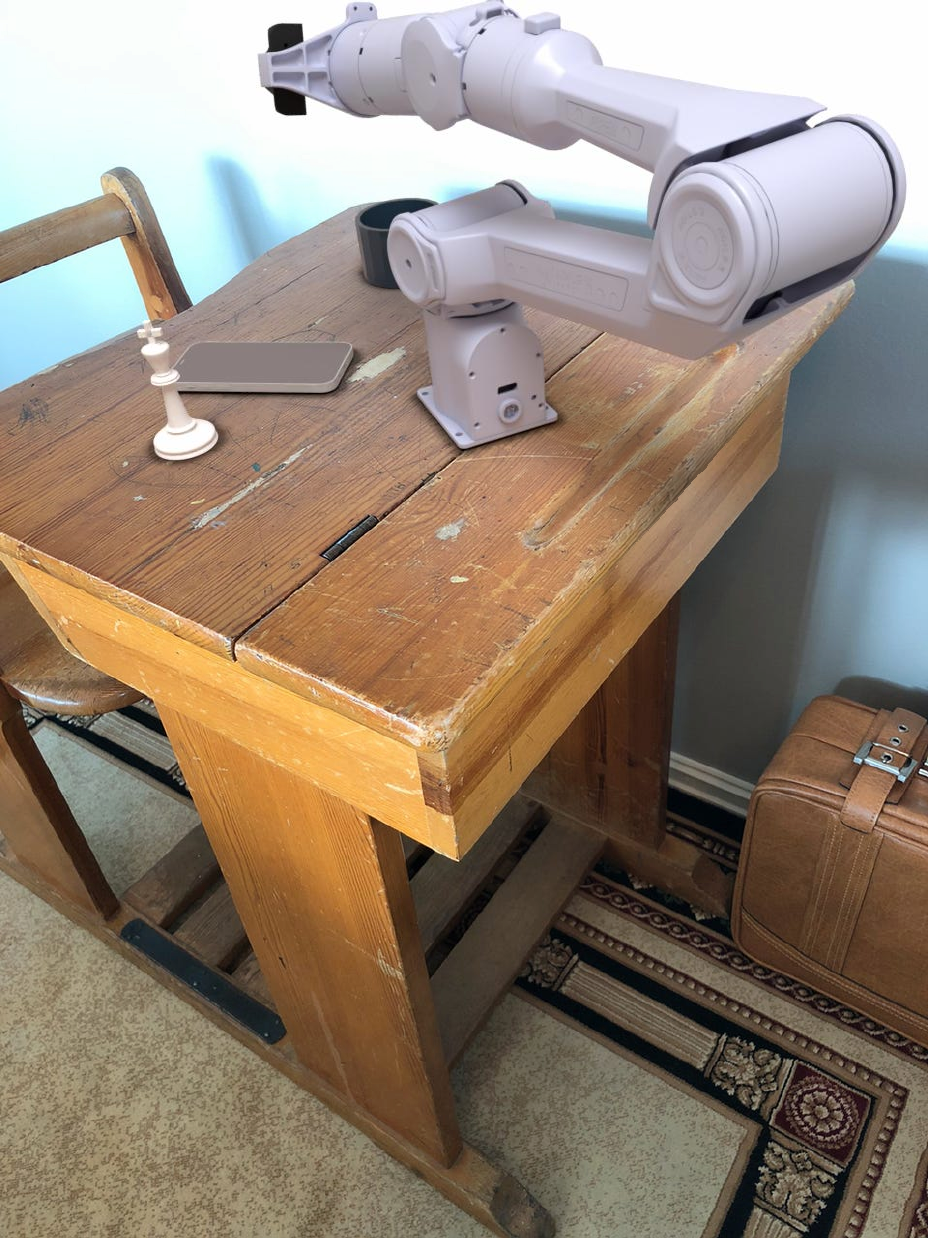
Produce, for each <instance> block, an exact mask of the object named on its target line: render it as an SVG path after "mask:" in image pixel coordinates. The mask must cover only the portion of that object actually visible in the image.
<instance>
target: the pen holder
mask: <svg viewBox="0 0 928 1238" xmlns="http://www.w3.org/2000/svg"><path fill="white" fill-rule="evenodd" d="M438 204H440V203H439V202H437V201H435V200H432V199H429V198H420V197H404V198H403V197H402V198H393V199H388V200H384V201H379V202H377V203H374V204H371V205H369V206H366V207H365V208H363V209H362V210H360V211H358V213H357V214H356V215H355V216H354V223H355V224H354V225H355V231H356V236H357V243H358V248H359V253H360V261H361V266H362V272H363V276H364V279H365V280H366V281H367V282H368V283H369V284H371V285H373V286H376V287H379V288H386V289H400V288H399V286H398V284H397V282H396V280H395V278H394V275H393V272H392V270H391V266H390V262H389V258H388V251H387V239H388V234H389V230H390V226H391V223H392V221H393V219H394V218H395V217H396V216H397V215H399V214H403V213H407V212H409V213H414V212H417V211H420V210H423V209H426V208H429V207H432V206H435V205H438Z"/></svg>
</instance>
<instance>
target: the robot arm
mask: <svg viewBox="0 0 928 1238" xmlns="http://www.w3.org/2000/svg"><path fill="white" fill-rule="evenodd" d="M561 23H562V22H561V16H560V14H558V13H554V12H551V11H550V12H549V11H544V12H540V13H536V14H532V15H528V16H526V17H524V18H522V17H521V16H520V14H519V13H518V12H517V11H516V10H515V9H513V8H511V7H509V6H507V5H506V4H505V1H504V0H485V1H483V2H478V3H474V4H470V5H467V6H463V7H458V8H455V9H451V10H446V11H443V12H439V11H438V12H421V13H413V14H406V15H398V16H391V17H385V18H380V19H379V18H378V9H377V6H376V5H375V3H373V2H371V1H351V2H349V3H347V5H346V7H345V19H344V21H343V22H341V23H340V24H338V25H336V26H334V27H331V28H330V29H327V30H325V31H323V32H321V33H318V34H317V35H315V36H312V37H311V38H308V39H307V40H305V39H304V29H303V23H302V22H301V23H297V22H296V23H295V22H294V23H293V22H291V23H290V22H281V23H275V24H273V25H271V26H270V27H268V28H267V42H268V48H267V50H266V51H265V52H260V53H257V61H258V75H259V81H260V82H259V83H260V87H261V88H265V90H267V91H268V92H269V93H270V94H271V95H272V96H273V105H274V109H275V112H276V113H278V114H280V115H283V116H287V117H294V116H295V117H296V116H307V115H308V112H307V101H306V98H309V99H311V100H314V101H316V102H318V103H320V104H323V105H325V106H328V107H330V108H334V109H335V110H337V111H341V112H343V113H345V114H347V115H350V116H352V117H356V118H360V119H373V118H377V117H380V116H394V117H396V116H397V117H399V116H401V117H405V116H407V117H409V116H410V117H419V118H420V119H421V120H422V121H423V122H424V123H425V124H426V125H428V126H430V127H431V128H432V130H434V131H436V132H442V131H445V130H448V129H451V128H452V127H454V126H455V125H456V123H459V122H462V121H465V120H470V121H472V122H473V123H476V124H477V125H479V126H482V127H485V128H488V129H491V130H493V131H496V132H498V133H501V134H504V135H506V136H509V137H510V138H511V137H512V138H514V139H517V140H519V141H521V142H524V143H527V144H529V145H532V146H535V147H538V148H540V149H543V150H546V151H562V150H565V149H568V148H570V147H571V146H574V145H575V144H576V143H578V142H579V141H580V140H583V141H585V142H587V143H588V144H590V145H593V146H595V147H597V148H599V149H601V150H604V151H605V152H607V153H609V154H611V155H613V156H616V157H618V158H620V159H622V160H624V161H626V162H628V163H630V164H632V165H635V166H636V167H640V168H641V169H642V170H645V171H646V172H649V173H652V174H653V175H652V179H651V182H650V187H649V191H648V197H647V207H646V223H647V226H648V228H649V229H650V230H651V231H655V232H654V237H653V239H651V238H647V237H641V236H637V235H634V234H633V235H632V234H629V233H623V232H619V231H613V230H609V229H605V228H600V227H595V226H590V225H585V224H581V223H577V222H571V221H568V220H562V219H558V218H556V216H555V213H554V209H553V207H552V204H551V202H550V200H545V199H541V198H538V197H536V196H535V195H533V194H532V193H531V192H530V190H528V189H527V187H525V186H524V185H523V184H522V183H520V182H519V181H517V180H515V179H510V178H508V179H503V180H501V181H498V182H496V183H495V184H494V185H492V186H490V187H487V188H484V189H481V190H477V191H474V192H472V193H469V194H466V195H463V196H459V197H456V198H453V199H451V200H447V201H444V202H442V203H439V204H438V205H435V206H432V207H429V208H426V209H423V210H420V211H417V212H414V213H409V212H407V213H403V214H399V215H397V216H396V217H395V218H394V219H393V221H392V223H391V226H390V230H389V234H388V239H387V251H388V258H389V262H390V266H391V270H392V272H393V275H394V278H395V280H396V282H397V284H398V286H399V288H398V289H400V291H401V292H402V294H403V295H404V297H406V298H407V299H408V300H409V301H410V302H412V303H413V304H414V305H415V306H416V307H418V308H419V309H422V314H423V322H424V330H425V338H426V346H427V354H428V360H429V361H428V363H429V369H430V374H431V376H430V377H431V383H432V384H431V385H427V386H425V387H422V388H419V389H418V390H416V396H417V397H418V399H419V400H420V401H421V402H422V404H423V405H424V406H425V408H426V409H427V410H428V412H430V413H431V414H432V416H433V417H434V419H435V420H436V421H437V422H438V424H439V425H440V426H441V427H442V429H443V430H444V431H445V432H446V433H447V435H448V436H449V438H451V440H452V441H453V442H454V443H455V444H456V446H457V447H458V448H459V449H465V450H466V449H469V448H472V447H476V446H479V445H483V444H485V443H489V442H492V441H495V440H498V439H502V438H505V437H507V436H512V435H515V434H518V433H521V432H524V431H527V430H530V429H534V428H537V427H541V426H543V425H548V424H550V423H554V422H556V421H557V420H558V412H556V411H555V409H553V407H551V406H550V405H549V404H548V403H547V402H546V383H545V382H546V381H545V380H546V379H545V360H544V359H545V358H544V348H543V345H542V341H541V340H540V337H539V336H538V333H536V332H535V330H534V329H533V328H532V326H530V324H529V322H528V320H527V318H526V315H525V311H524V306H525V307H529V308H532V309H534V310H537V311H540V312H543V313H546V314H549V315H551V316H554V317H558V318H560V319H564V320H567V321H569V322H573V323H575V324H579V325H582V326H584V327H588V328H591V329H594V330H596V331H600V332H603V333H606V334H609V335H612V336H615V337H617V338H620V339H624V340H626V341H630V342H633V343H635V344H639V345H642V346H643V347H648V348H651V349H654V350H657V351H659V352H663V353H665V354H669V355H672V356H674V357H677V358H680V359H683V360H686V361H687V360H688V361H698V360H701V359H703V358H706V357H708V356H710V355H712V354H714V353H716V352H718V351H721V350H723V349H725V348H728V347H731V346H732V345H734V344H736V343H739V342H741V341H743V340H745V339H747V338H749V337H751V336H752V335H754V334H755V333H757V332H759V331H761V330H763V329H764V328H766V327H768V326H769V325H772V324H773V323H775V322H776V321H778V320H780V319H782V318H783V317H785V316H787V315H789V314H790V313H792V312H794V311H795V310H798V309H799V308H801V307H802V306H804V305H807V304H808V303H810V302H812V301H813V300H815V299H817V298H819V297H820V296H822V295H825V294H826V293H828V292H830V291H832V290H834V289H836V288H838V287H840V286H842V285H844V284H846V283H848V282H849V281H852V280H853V279H856V278H857V277H859V276H860V275H861V274H863V272H864V271H865V269H866V268H867V267H868V266H869V264H870V263H871V262H872V261H873V260H874V258H875V257H876V256H877V254H878V253H879V252H880V250H881V249H882V248H883V247H884V245H885V244H886V243H887V242H888V241H889V239H890V238H891V236H892V235H893V233H894V232H895V231H896V229H897V227H898V225H899V224H900V221H901V218H902V215H903V212H904V209H905V204H906V198H907V175H906V174H907V173H906V169H905V164H904V160H903V158H902V154H901V151H900V150H899V148H898V146H897V144H896V142H895V140H894V138H892V137H891V135H890V133H888V131H887V130H886V129H885V128H884V127H883V126H882V125H881V124H879V123H878V122H877V121H875V120H874V119H871V118H869V117H867V116H864V115H861V114H855V113H842V114H837V115H834V116H831V117H829V118H827V119H825V120H823V121H821V122H819V123H816V124H815V125H813V127H811V126H810V125H809V124H808V123H807V122H808V121H810V120H811V119H812V118H813V117H814V116H816V115H818V114H819V113H822V112H825V111H827V110H828V106H826V105H823V104H821V103H820V102H817V101H815V100H814V99H811V98H809V97H807V96H806V97H805V96H796V95H787V94H778V93H771V92H769V93H768V92H761V91H748V90H741V89H735V88H727V87H722V86H717V85H711V84H705V83H700V82H695V81H691V80H684V79H677V78H673V77H667V76H661V75H656V74H651V73H646V72H641V71H634V70H629V69H623V68H617V67H612V66H608V65H604V62H603V59H602V57H601V54H600V52H599V50H598V48H597V47H596V45H595V43H593V42H592V40H591V39H590V38H589V37H587V36H585V35H584V34H582V33H580V32H577V31H574V30H573V31H572V30H568V29H566V28H565V29H564V28H562V27H561Z"/></svg>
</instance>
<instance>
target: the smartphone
mask: <svg viewBox="0 0 928 1238" xmlns="http://www.w3.org/2000/svg"><path fill="white" fill-rule="evenodd" d="M354 355H355V353H354V349H353V345H352V344H351V343H350V342H347V341H198V342H194V343H192V344H190V345H188V347H187V349H185V350H184V352H183V353H182V354H181V356H180V357H179V358H178V359H177V361H176V362H175V363H174V364H173V366H172V367H171V369H174V370H176V371H177V372H178V373H179V375H180V377H179V379H178V380H177V381H176V382H174V385H175V387H176V389H177V392H232V393H233V392H234V393H235V392H241V393H247V392H248V393H313V394H314V393H315V394H316V393H319V394H320V393H321V394H322V393H328V392H331V391H334V390H335V389H337V387H339V384H340V382H341V380H342V379H343V377H344V375H345V373H346V372H347V369H348V367H349V365H350V364H351V361H352V360H353V357H354Z"/></svg>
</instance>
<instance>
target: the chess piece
mask: <svg viewBox="0 0 928 1238" xmlns="http://www.w3.org/2000/svg"><path fill="white" fill-rule="evenodd" d="M142 326H143V328H140V329H138V330H137V331H136V334H137V337H138V338H139V339H145V338H147V341H148V343H146V344H144V345H143V346H142V348H141V349H140V353H141V355H142V357H144V359H145V360H146V361H147V362H148V364H149V365H150V367H151V368H152V370H153V371H154V373H152V375H151V376H150V383H151V385H153V386H155V387H160V388H161V393H162V397H163V401H164V407H165V411H166V417H167V423H166V425H165V426H163V428H161V429H160V430H159V431H158V432H157V433H156V434H155V436H154V438H153V441H152V443H153V446H154V452H155V454H156V455H157V456H158V457H159V458H160V459H161V458H162V459H164V460H168V461H185V460H189V459H192V458H193V459H194V458H196V457H198V456H201V455H203V454H206V453H207V452H208V451H209V450H211V449H212V448H213V447H214V446H215V445H216V444H217V442H218V440H219V434H218V431H217V430H216V427H215V425H214V424H213V423H212V422H210V421H209V420H206V419H202V418H194V417H192V416H190V414H189V413H188V411H187V408H186V407H185V405H184V402H183V400H182V398H181V396H180V394H179V391H177V389H176V387H175V385H174V382H176V381H177V380H178V379H179V377H180V375H179V373H178V372H177V371H176V370H174V369H172V368H170V365H171V364H170V353H171V352H170V351H171V347H170V344H169V343H168V342H166V341H164V340H157V337H163V335H164V331H163V328H162V327H156V328H155V327H153V325H152V321H151V320H150V319H147V320H145V319H144V320H143V321H142Z"/></svg>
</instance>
